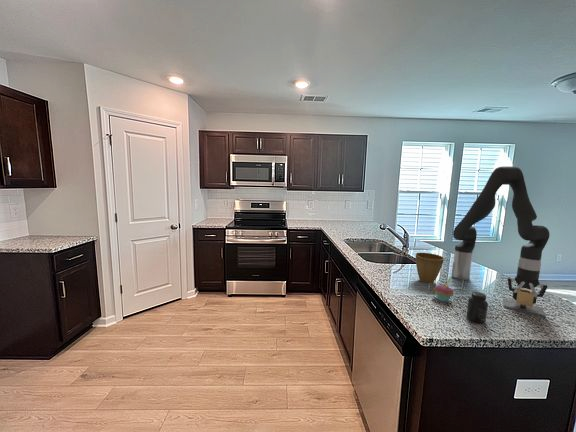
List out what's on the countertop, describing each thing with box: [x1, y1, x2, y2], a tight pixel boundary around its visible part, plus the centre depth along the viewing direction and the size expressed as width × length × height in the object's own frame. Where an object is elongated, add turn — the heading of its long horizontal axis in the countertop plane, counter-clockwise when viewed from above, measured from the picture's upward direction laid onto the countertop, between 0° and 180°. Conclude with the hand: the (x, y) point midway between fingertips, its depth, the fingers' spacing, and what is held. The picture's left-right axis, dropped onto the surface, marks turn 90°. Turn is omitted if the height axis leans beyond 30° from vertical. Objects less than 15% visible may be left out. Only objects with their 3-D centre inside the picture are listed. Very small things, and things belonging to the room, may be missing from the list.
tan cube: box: [514, 288, 534, 307], centre depth 118 cm, size 6×6×6 cm
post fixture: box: [502, 298, 547, 318], centre depth 119 cm, size 14×10×6 cm
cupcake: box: [433, 277, 455, 302], centre depth 126 cm, size 9×8×12 cm
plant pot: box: [415, 252, 445, 285], centre depth 149 cm, size 15×15×16 cm
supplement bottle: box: [465, 291, 489, 325], centre depth 106 cm, size 7×7×12 cm
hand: (523, 301), depth 119 cm, fingers closed on tan cube, 5 cm apart
